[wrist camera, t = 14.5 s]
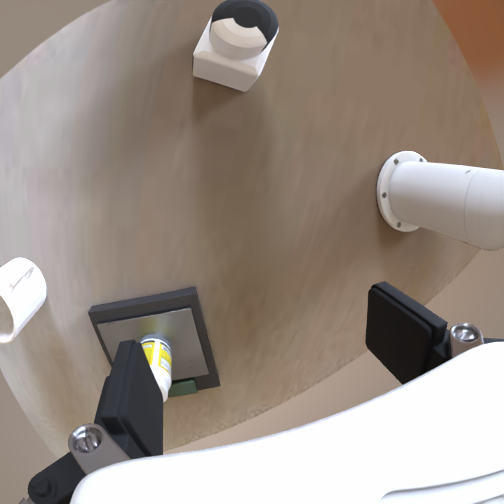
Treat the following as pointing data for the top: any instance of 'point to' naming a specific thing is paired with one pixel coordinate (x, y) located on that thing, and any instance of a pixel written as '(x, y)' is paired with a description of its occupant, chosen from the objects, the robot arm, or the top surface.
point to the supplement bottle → (159, 363)
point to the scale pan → (161, 338)
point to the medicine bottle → (235, 43)
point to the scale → (155, 305)
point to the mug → (19, 296)
